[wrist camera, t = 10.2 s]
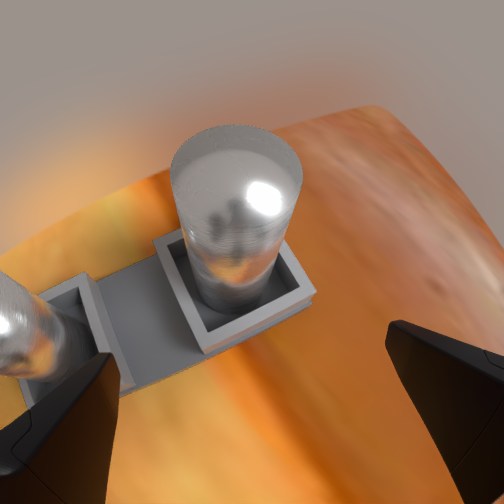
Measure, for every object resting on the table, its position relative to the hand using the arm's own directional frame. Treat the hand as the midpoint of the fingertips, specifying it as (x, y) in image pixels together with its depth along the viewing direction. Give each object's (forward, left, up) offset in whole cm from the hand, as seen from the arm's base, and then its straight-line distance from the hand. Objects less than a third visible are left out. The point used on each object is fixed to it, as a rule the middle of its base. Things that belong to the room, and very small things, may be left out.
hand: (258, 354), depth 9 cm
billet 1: (-4, +12, -11) cm, 17 cm away
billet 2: (+6, +3, -11) cm, 13 cm away
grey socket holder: (+1, +8, -12) cm, 14 cm away
